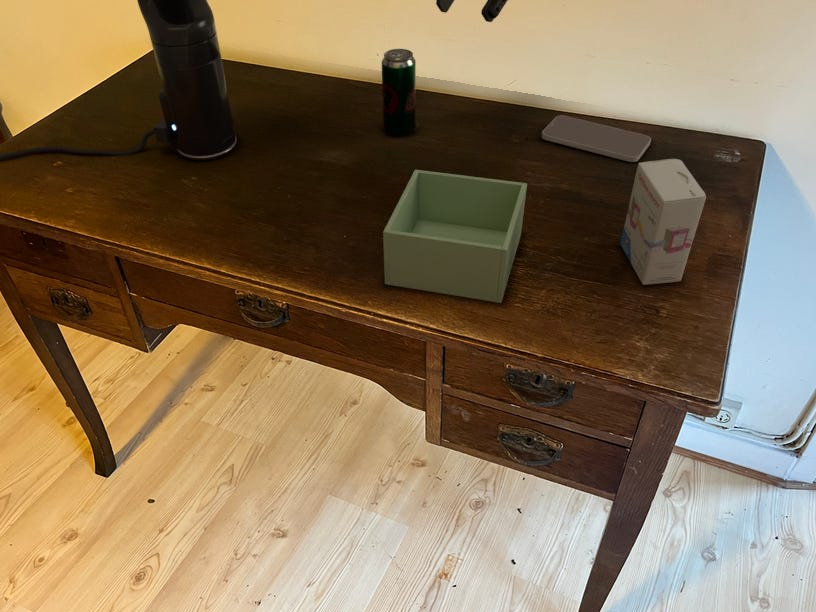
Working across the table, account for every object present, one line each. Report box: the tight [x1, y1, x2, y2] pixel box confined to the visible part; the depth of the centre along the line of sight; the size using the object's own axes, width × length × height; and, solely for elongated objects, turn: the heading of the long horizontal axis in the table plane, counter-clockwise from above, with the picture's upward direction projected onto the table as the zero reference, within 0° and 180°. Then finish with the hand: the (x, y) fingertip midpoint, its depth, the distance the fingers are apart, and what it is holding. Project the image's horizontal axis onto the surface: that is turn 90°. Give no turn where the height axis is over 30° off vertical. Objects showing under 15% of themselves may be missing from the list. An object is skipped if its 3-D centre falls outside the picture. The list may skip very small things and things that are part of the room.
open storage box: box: [382, 169, 528, 304], centre depth 89 cm, size 14×14×8 cm
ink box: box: [619, 158, 707, 286], centre depth 85 cm, size 9×5×12 cm, turn 5°
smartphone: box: [541, 115, 652, 163], centre depth 111 cm, size 7×1×15 cm
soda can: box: [381, 48, 417, 137], centre depth 112 cm, size 5×5×12 cm
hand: (462, 13), depth 101 cm, fingers open, 8 cm apart
